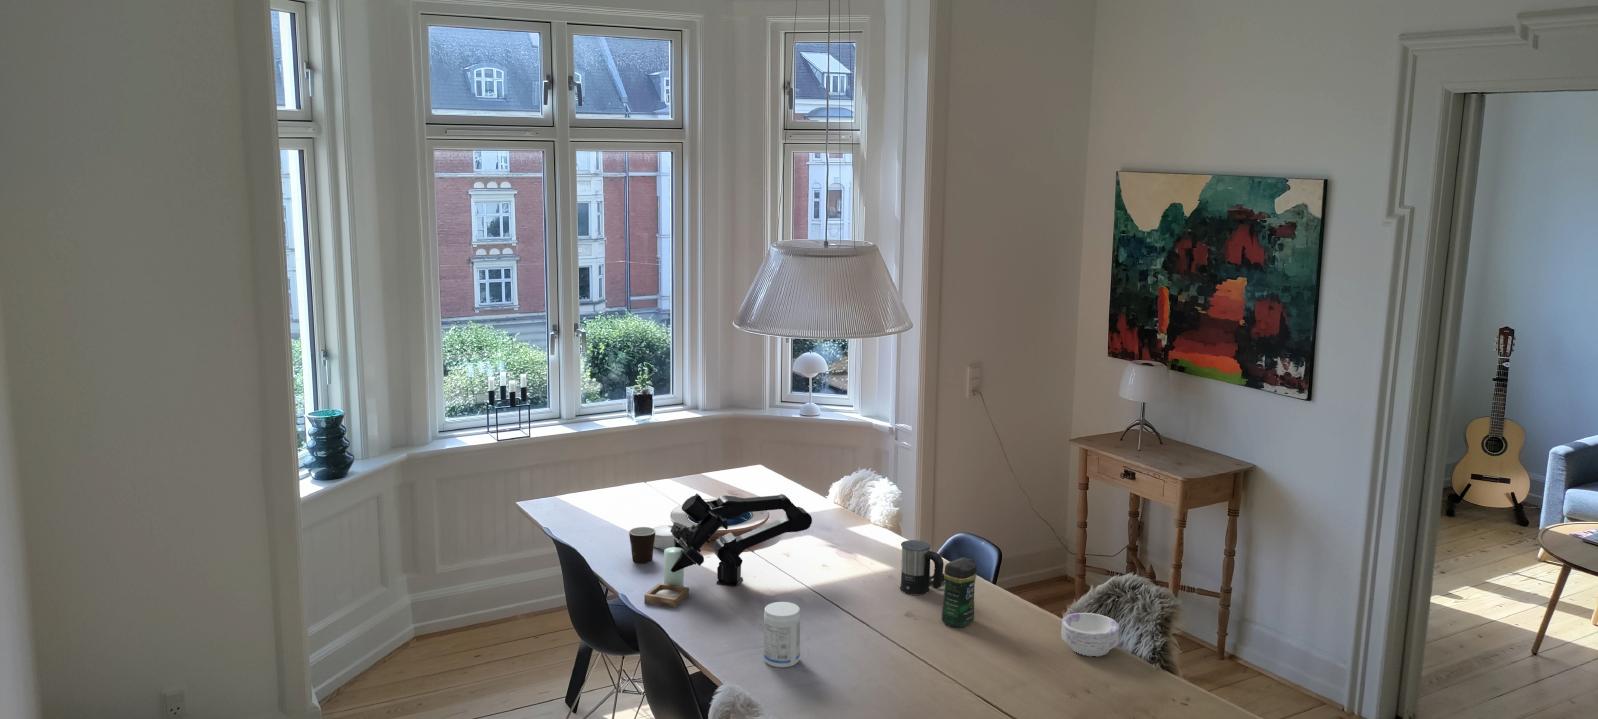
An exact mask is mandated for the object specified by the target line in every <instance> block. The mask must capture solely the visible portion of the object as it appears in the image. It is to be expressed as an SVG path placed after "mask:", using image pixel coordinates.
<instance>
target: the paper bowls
mask: <svg viewBox="0 0 1598 719" xmlns="http://www.w3.org/2000/svg"><path fill="white" fill-rule="evenodd" d="M1120 630H1121V629H1120V625H1119V623H1118V622H1117V620H1115V619H1113V618H1111V617H1108V616H1106V615H1102V614H1098V613H1093V612H1075V613H1074V612H1073V613H1070V614H1067V615H1066V616H1064V617H1063V618H1062V619H1061V633H1060V634H1061V639H1062V641H1063V642H1065V643H1066V644H1068V646H1069V648H1070V649H1071V650H1072V651H1073V652H1075V653H1076V652H1077V653H1076V654H1078V653H1079V655H1081V654H1082V655H1081V656H1085V655H1086V657H1092V656H1096V657H1102V656H1104V655H1107V654H1108V653H1109V651H1110V650H1112V649H1113V648H1116V647H1117V646H1118V644H1119V638H1120Z"/></svg>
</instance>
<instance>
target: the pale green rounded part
mask: <svg viewBox="0 0 1598 719" xmlns="http://www.w3.org/2000/svg"><path fill="white" fill-rule="evenodd" d="M681 549H682V548H678V547H671V548H667V549H663V582H664V583H663V584H670V585H676V586H682V587H685V586H684V585H685V583H684V582H685V579H684V578H685V577H684V576H685V575H684V574H685V570H684V569H685V568H683V569H681V570H678V571H676V572H672V571H671V569H672V567H673V566H674V564H675V563H676V562H677V560H678V559H679V557H680V556H681ZM682 550H683V549H682ZM683 551H684V550H683Z"/></svg>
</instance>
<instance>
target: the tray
mask: <svg viewBox="0 0 1598 719" xmlns="http://www.w3.org/2000/svg"><path fill="white" fill-rule="evenodd" d="M689 597H690V587H687V586H684V587H682V586H676V585H670V584H664V583H663V582H658V583H657V584H656V585H655V586H654V587H652V588H651V589H650V590H648V591H647V592H646V593H645V594H644V596H643V598H644V601H643V602H644V604H649V605H654V606H659V607H667V608H671V609H674V608H677V607H678V606H679V605H681V603H683V602H685V600H686V599H687V598H689Z"/></svg>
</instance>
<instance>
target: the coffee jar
mask: <svg viewBox="0 0 1598 719" xmlns="http://www.w3.org/2000/svg"><path fill="white" fill-rule="evenodd" d="M977 568H978V565H977V563H976V562H975V560H973V559H971V558H967V557H963V556H962V557H960V558H957V559H954V560H952V561H949V562H947V563H946V564H945V566H944V570H943V574H944V576H945V581H944V590H943V591H944V592H943V594H944V595H943V602H942V611H941V622H942V623H944V624H945V625H946V626H949V627H952V628H953V627H955V628H963V627H966V626H968V625H970V624H972V623H973V621H974V620H975V585H976V578H977V574H978V572H977V570H978V569H977Z"/></svg>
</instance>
